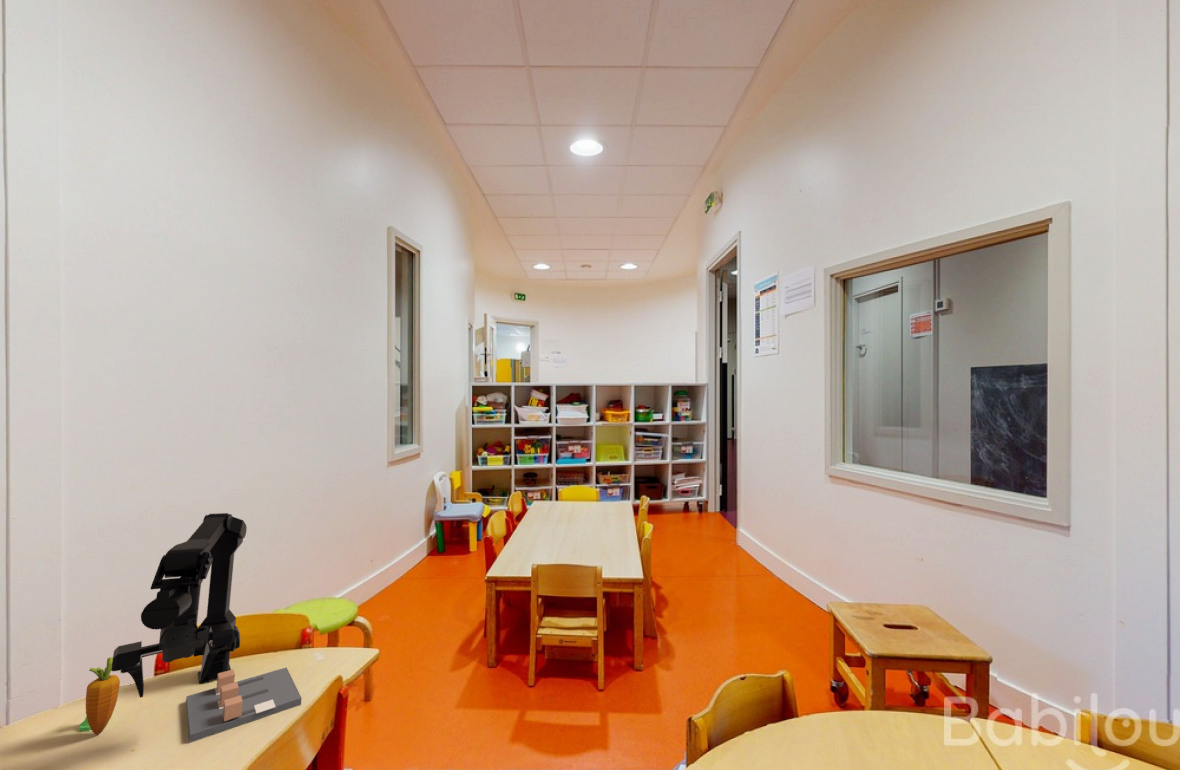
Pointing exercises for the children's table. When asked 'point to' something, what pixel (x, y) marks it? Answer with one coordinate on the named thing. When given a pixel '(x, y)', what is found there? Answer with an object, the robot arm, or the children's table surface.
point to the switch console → (258, 702)
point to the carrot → (101, 698)
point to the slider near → (232, 708)
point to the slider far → (225, 679)
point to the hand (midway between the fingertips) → (172, 688)
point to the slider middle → (228, 692)
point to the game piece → (84, 725)
